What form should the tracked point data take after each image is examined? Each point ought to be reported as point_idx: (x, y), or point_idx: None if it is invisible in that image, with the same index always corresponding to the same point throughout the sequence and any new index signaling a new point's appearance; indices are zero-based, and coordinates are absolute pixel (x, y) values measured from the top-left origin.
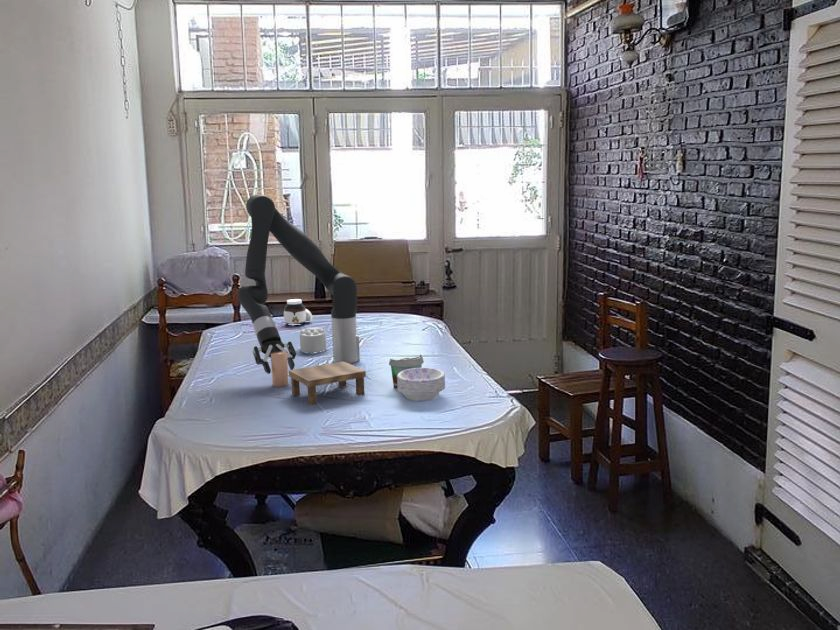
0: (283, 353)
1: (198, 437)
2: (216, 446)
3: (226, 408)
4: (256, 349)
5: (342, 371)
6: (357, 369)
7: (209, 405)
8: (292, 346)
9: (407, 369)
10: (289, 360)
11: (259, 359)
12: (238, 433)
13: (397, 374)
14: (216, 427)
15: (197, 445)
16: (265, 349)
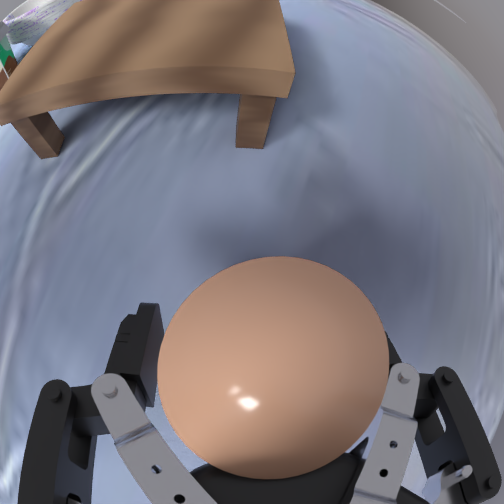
0: (225, 322)
1: (467, 82)
2: (438, 47)
3: (463, 167)
4: (484, 467)
5: (116, 2)
6: (71, 12)
7: (493, 223)
8: (27, 479)
9: (22, 15)
10: (144, 361)
11: (448, 372)
12: (421, 50)
13: (9, 49)
14: (456, 90)
15: (460, 65)
16: (407, 499)
